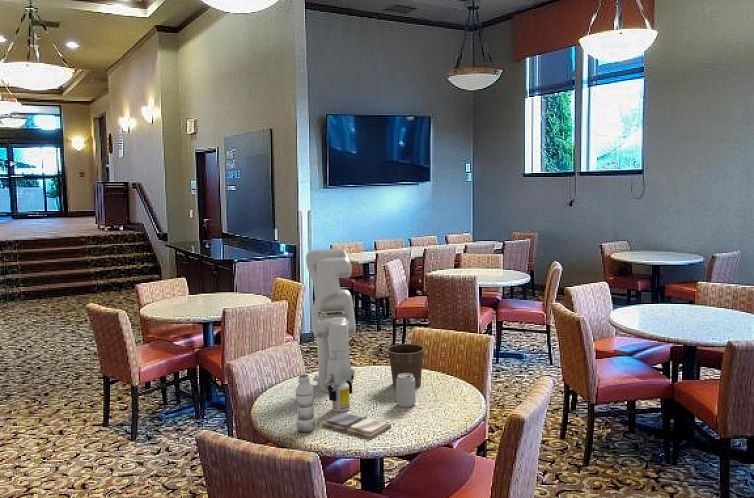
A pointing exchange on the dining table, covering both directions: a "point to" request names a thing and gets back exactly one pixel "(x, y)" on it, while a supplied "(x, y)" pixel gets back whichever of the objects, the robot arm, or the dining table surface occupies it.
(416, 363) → the plant pot
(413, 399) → the can
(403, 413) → the dining table surface
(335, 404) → the supplement bottle
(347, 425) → the makeup compact
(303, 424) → the plastic bottle
